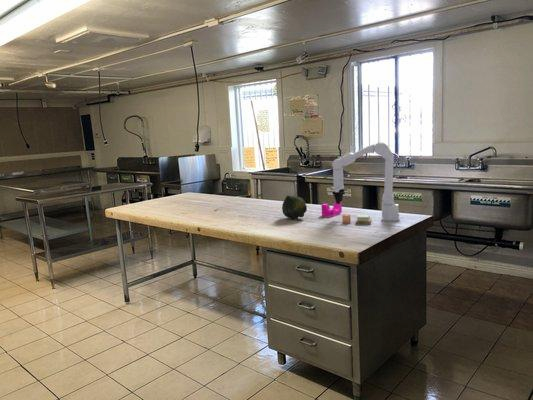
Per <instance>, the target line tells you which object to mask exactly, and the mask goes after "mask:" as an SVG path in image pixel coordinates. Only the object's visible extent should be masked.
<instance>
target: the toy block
mask: <svg viewBox="0 0 533 400" xmlns="http://www.w3.org/2000/svg"><path fill="white" fill-rule="evenodd" d="M320 206H321V207H320V208H321V216H322V217H326V216H327V218H332V217H334V215H335V216H338V215H337V214H339V215H341V213H342V212H343V210H342V209H343V208H342V206H343V205H342V201H341V202H340V204H336V201H335V200H334V204H333V206H332V208H331V207H330V204H328V203H323V204H321V205H320ZM340 212H341V213H340ZM331 216H332V217H331Z"/></svg>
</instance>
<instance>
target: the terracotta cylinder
mask: <svg viewBox="0 0 533 400" xmlns="http://www.w3.org/2000/svg"><path fill="white" fill-rule="evenodd" d="M341 219H342V224H344V225H345V224H347V225H348V224H351V221H352V220H351V214H349V213H344V214H342V218H341Z"/></svg>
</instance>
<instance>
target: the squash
mask: <svg viewBox="0 0 533 400" xmlns="http://www.w3.org/2000/svg"><path fill="white" fill-rule="evenodd" d="M281 208H282V214H283V215H284V216H285V217H286V218H288V219H290V220H292V221H293V220H298V219H299V218H303V217H304V216H305V213H307V211H308V210H307V204H306V201H305V200H304V199H303V197H300V196H296V195H286V197H285V198H284V200H283V203H282V206H281Z"/></svg>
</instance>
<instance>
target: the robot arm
mask: <svg viewBox="0 0 533 400" xmlns="http://www.w3.org/2000/svg"><path fill="white" fill-rule="evenodd" d="M374 153H375V154H377V155H378V156H381V157H382V158H383V159H384V160H385V161H384V163H385V164H384V166H385V167H384V190H383V191H384V192H383V194H382V198H381V200H382V202H381V218H380V221H384V222H385V221H389V222H390V221H393V222H394V221H395V222H396V221H399V219H400V213H399V212H400V211H399V203H395V195H394V193H393V185H394V184H393V183H394V164H395V163H394V161H395V156H394V154H393V152H392V150H391V149H390V147H389V146H388V145H387V144H386V143H384V142H382V141H378V142H377V143H374V144H370V145H368V146H366V147H364V148H362V149H360V150H358V151H356V152H346V153H345V155H343V156H338V158H335V159H334V160H333V161H332V164H331V165H332V172H333V173H332V180H333V186H332V187H331V189H333V190H334V191H332V194H333V197H334V202H335V201H336V204H340V202H341V203H342V202H343V199H344V193H345V190H346V188H345V186H344V184H345V183H344V171H343V170H344V169H343V167H346V166H348V165H350V164H352V163H354V162H355V161H356V159H357V158H360V157H362V156H365V155H367V154H374Z"/></svg>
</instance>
